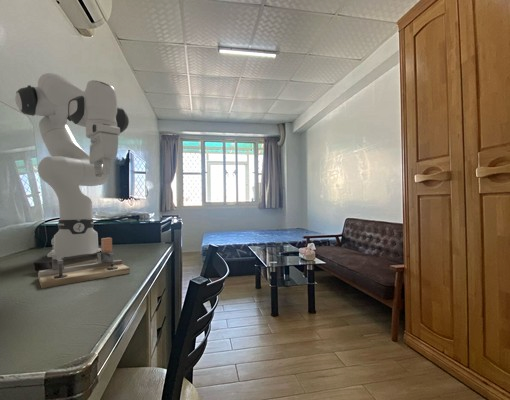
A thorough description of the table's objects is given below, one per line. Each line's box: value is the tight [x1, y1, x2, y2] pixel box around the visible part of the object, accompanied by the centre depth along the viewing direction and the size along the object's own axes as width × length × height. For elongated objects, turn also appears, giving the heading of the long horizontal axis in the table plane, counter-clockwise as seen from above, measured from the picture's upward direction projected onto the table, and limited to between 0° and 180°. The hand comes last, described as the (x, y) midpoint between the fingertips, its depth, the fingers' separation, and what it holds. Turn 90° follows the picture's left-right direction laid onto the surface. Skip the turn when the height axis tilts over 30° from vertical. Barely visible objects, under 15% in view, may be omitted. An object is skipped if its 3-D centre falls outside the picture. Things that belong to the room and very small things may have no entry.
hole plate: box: [37, 256, 131, 289], centre depth 75 cm, size 12×20×6 cm, turn 132°
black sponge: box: [32, 253, 99, 273], centre depth 86 cm, size 16×8×4 cm, turn 156°
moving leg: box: [100, 237, 115, 267], centre depth 79 cm, size 8×2×8 cm, turn 42°
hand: (102, 175), depth 85 cm, fingers open, 8 cm apart
